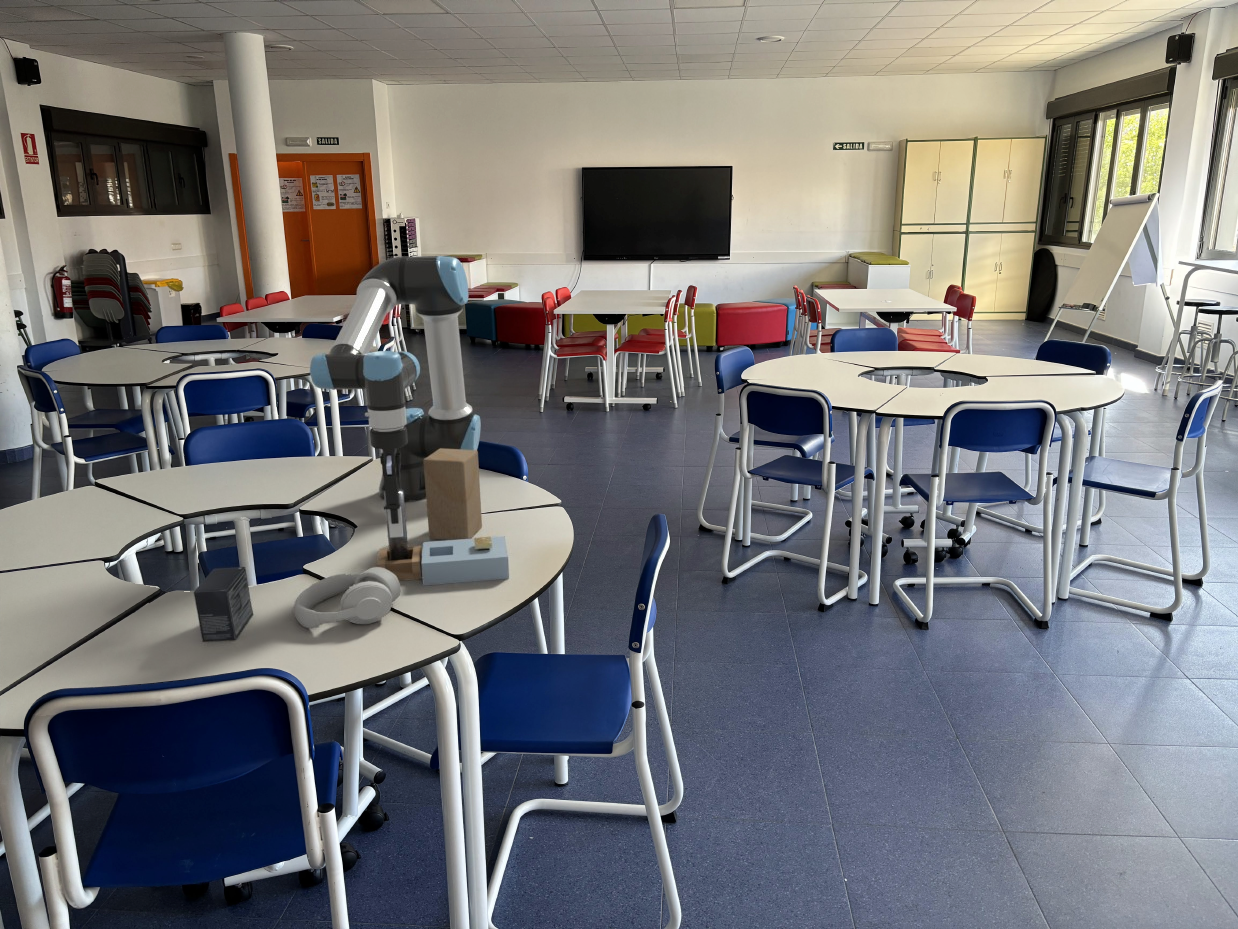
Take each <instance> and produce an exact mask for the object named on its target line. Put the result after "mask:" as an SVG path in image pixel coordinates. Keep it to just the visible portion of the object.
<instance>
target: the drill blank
mask: <svg viewBox="0 0 1238 929" xmlns="http://www.w3.org/2000/svg"><path fill="white" fill-rule="evenodd" d="M384 499H385V500H384ZM384 499H383V500H384V506H386V495H385V491H384ZM399 502H400V507H401V515H402V526H403V537H392V538H390V532H389V521H388V510H387V509H385V519H386V530H387V532H386V533H387V539H388V541H387V542H388V548H389V553H390V561H395V560H408V559H409V552H408V547H409V543H408V542H409V541H408V529H407V518H406V517H407V516H406V506H405V505H406V504H405V502H404V493H403V490H402V489H399Z"/></svg>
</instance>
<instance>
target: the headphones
mask: <svg viewBox="0 0 1238 929" xmlns="http://www.w3.org/2000/svg"><path fill="white" fill-rule="evenodd" d="M401 592H402V588H401V584H400V581H398V578H397V577H396V575H394V574H393V573H392V572H390V571H389V570H387V569H385V568H381V567H376V566H373V567H370V568H368V569H366V570H364V571H363V572H361V573H352V574H351V573H348V574H346V573H340V574H335V575H330V576H328V577H325V578H323V579H321V580H319V581H317V582H315V583H312V584H311V585H310V586H309V587H307V588H305V589H304V590H303V591H302V592H301V593H300V594H299V595H298V596H297V597H296V599H295V601H294V605H293V614H294V617H295V619H296V620H297V622H298V623H299V625H301V626H302V627H304V628H305V629H310V630H314V629H317V628H318V629H319V627H320V626H323V625H324V624H330V623H335V622H339V621H343V620H347V621H348V622H350V623H353V624H355V625H369V624H374V623H376V622H379V621H380V620H381V619H383V618H384V617H386V616H387V615H388V614H389V612H390V611H391V608H392V606H393V603H394V602H395V601H396V600H398V598H399V597H400V596H401ZM342 593H343V594H342ZM340 594H342V596H341V599H340V601H339V603H340V604H339V605H340V611H335V612H332V611H331V612H330V611H329V612H320V611H316V610H312V608H314V606H316V605H318V604H320V603H321V602H323V601H325V600H327V599H329V598H332V597H335V596H337V595H340Z"/></svg>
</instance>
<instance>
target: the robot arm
mask: <svg viewBox="0 0 1238 929" xmlns="http://www.w3.org/2000/svg"><path fill="white" fill-rule="evenodd" d="M468 300H469V283H468V279H467V274H466V272H465V268H464V266H463V263H462V262H461V261H460V260H459V259H458V258H457V257H453V256H442V255H435V256H434V255H428V256H427V255H425V256H396V257H391V258H389V259H386V260H384V261H382V262H380V263H378V264H377V265H375V266H374V267H373V268H372V269H371V270H369V272H368V273H366V274H365V275H364V277H363V278H362V279H361V281H360V283H359V285H358V287H357V288H356V300H355V302H354V303H353V306H352V308H351V310H350V312H349V314H348V315H347V318H346V319H345V321H344V323H343V326H342V328H341V329H340V331H339V334H338V335H337V337H336V339H335V341H334V343H333V345H332V347H331V349H330V350H329V352H328V353H322V354H321V353H319V354H315V355H314V356H312V358H311V360H310V364H309V374H310V379H311V382H312V384H313V385H314V386H315V387H316V388H318V389H325V390H326V389H327V390H334V391H335V390H365V397H366V408H367V412H365V413H364V416H365V417H366V418H368V425H369V427H370V430H369V441H370V446H371V447H372V448H374V449H375V450H376V449H377V450H379V449H380V450H381V453H380V457H379V459H380V465H381V468H382V475H381V479H380V483H379V486H378V493H379V494H378V495H379V497H380V498H381V500H384V501H385V499H384V491H385V495H386V506H385V505H384V506H383V509H384V510H385V509H387V510H388V521H389V532H390V538H392V537H403V526H402V515H401V507H400V502H399V489H402V490H403V493H404V503H407V502H408V503H409V502H416V501H421V500H424V499H426V488H425V475H424V462H423V461H424V459H425V458H427V457H428V456H430V455H431V454H433V453H434V452H435V451H437V450H438V449H440V448H442V449H461V450H476V451H478V448H479V443H480V438H481V428H482V426H481V422H482V421H481V417H480V415H477V414H474V412H473V406H472V405H470V404H469V403H467V401H466V400H467V398H466V390H465V378H464V371H463V370H464V369H463V359H462V349H461V337H460V329H459V328H460V327H459V318H458V317H459V315H460V314H461V313H462V312H463V310H464V309H463V306H464V305H465V304H467V303H468ZM399 305H415V310H416V311H415V312H416V314H417V316H419V317H420V318H421V319H422V320H423V326H424V327H423V328H424V335H425V343H426V354H427V362H428V369H429V378H430V386H431V398H432V406H431V407H430V408H429V410H428V414H425V412H424V410H423V409H422V408H418V407H412V408H406V403H405V402H406V401H405V389H407V388H409V387H411V386H412V385H413V384H414V383H415V382H416V380H417V379H418V378H419V376H420V373H421V366H420V363H419V361H418V359H417V357H416V356H415V355H414V354H412V353H411V352H408V351H403V350H402V351H395V350H394V351H392V350H379V351H372V352H370V351H371V349H372V347H373V344H374V342H375V340H376V338H377V336H378V333H379V332H380V328H382V324H383V322H384V320H385V319H386V316H387V315H388V313H391V311H393V310H394V309H395V307H396V306H399ZM385 511H386V510H385Z"/></svg>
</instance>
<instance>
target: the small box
mask: <svg viewBox="0 0 1238 929" xmlns="http://www.w3.org/2000/svg"><path fill="white" fill-rule="evenodd" d="M193 596H194V601H195V607H196V612H197V619H198V624H199V628H200V629H199V630H200V635H201V640H202V643H207V642H208V643H209V642H210V643H211V642H212V643H213V642H229V641H230V642H231V641H232V642H233V641H236V640H238V638H239V636H240V635H241V633H242V632H243V630H244V629H245V627H247V625H248V623H249V622H250V620H251V619H252V618H253V616H254V611H253V607H252V601H251V596H250V588H249V582H248V574H247V570H246V567H245V566H238V567H236V566H235V567H218V568H213V569H212V570H211V571H210V572H209V574H208V575H207V576H206V577H205V578H204V579H203V580H202V581H201V583H200V584H199V585H198V586H197V588H196V589H194V591H193Z"/></svg>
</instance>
